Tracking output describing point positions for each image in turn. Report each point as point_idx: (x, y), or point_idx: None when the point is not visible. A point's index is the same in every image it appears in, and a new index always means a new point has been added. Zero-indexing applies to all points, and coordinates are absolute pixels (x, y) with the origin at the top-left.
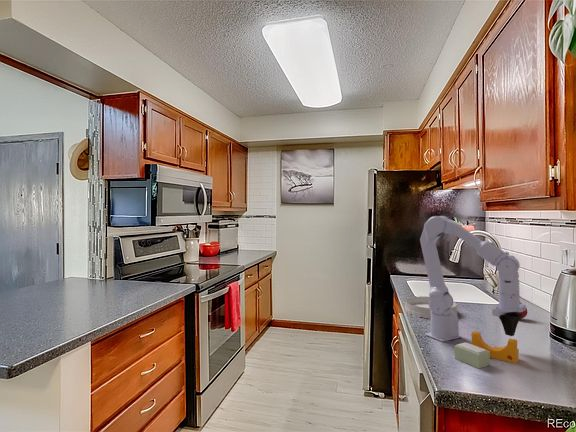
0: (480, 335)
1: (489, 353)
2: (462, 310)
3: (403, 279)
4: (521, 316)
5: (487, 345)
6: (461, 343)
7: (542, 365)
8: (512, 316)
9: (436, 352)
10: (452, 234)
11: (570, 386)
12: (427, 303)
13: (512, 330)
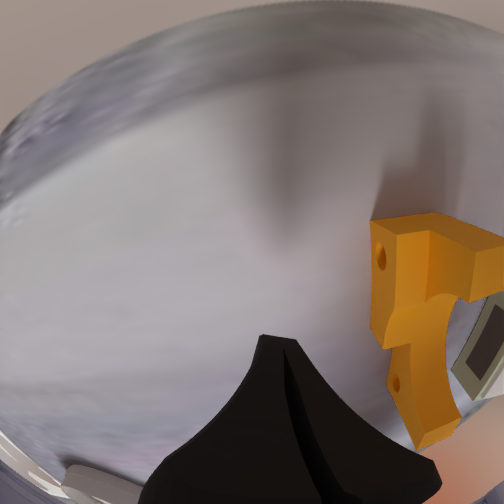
0: (427, 419)
1: None
2: (44, 451)
3: None
4: (191, 476)
5: (417, 365)
6: (496, 395)
7: (369, 101)
8: (408, 501)
9: None
10: None
11: (469, 23)
12: (98, 501)
13: (315, 368)
